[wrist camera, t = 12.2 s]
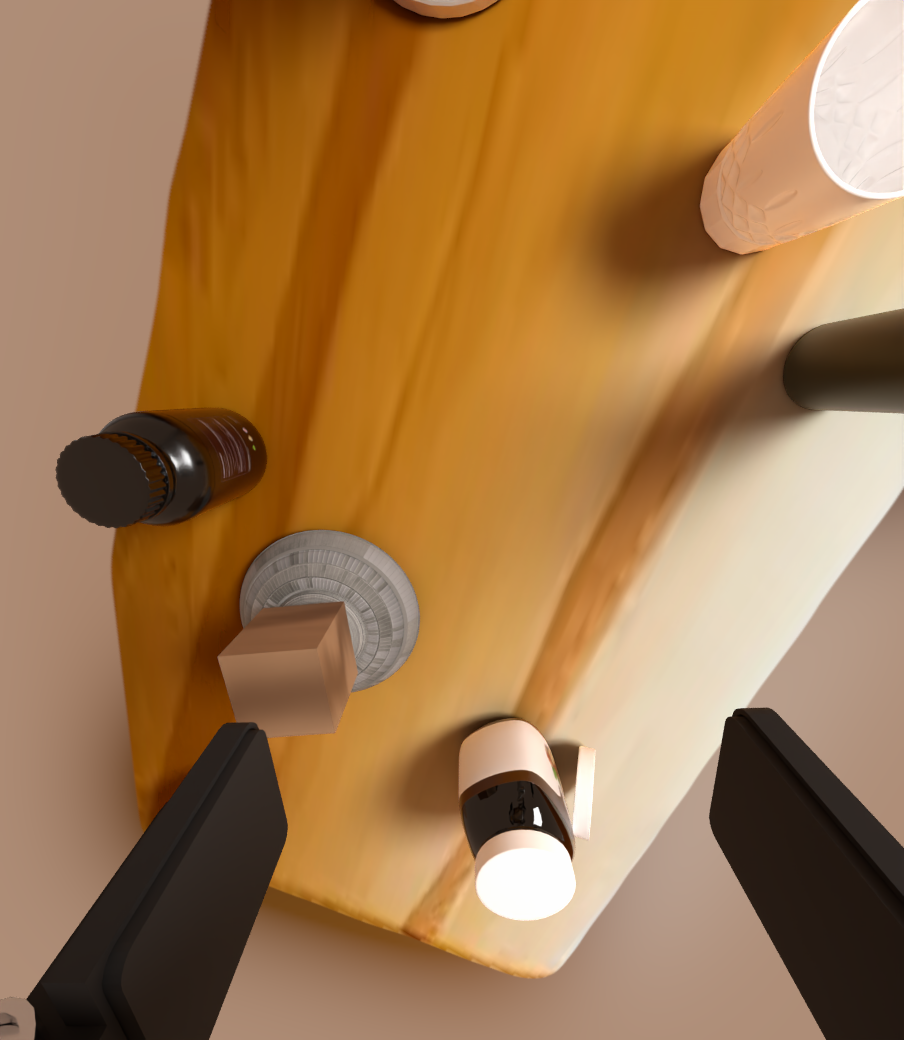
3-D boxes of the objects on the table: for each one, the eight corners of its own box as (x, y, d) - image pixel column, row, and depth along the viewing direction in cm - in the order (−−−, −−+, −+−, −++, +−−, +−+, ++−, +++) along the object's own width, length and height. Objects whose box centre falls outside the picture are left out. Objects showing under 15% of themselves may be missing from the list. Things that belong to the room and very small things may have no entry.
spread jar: (447, 724, 40) (441, 854, 28) (561, 679, 38) (601, 798, 27) (502, 814, 42) (516, 964, 31) (610, 775, 41) (665, 920, 29)
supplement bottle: (213, 508, 34) (85, 566, 23) (165, 429, 33) (1, 447, 21) (287, 475, 33) (193, 518, 22) (242, 391, 32) (114, 389, 20)
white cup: (826, 232, 28) (1018, 146, 18) (705, 285, 29) (826, 231, 19) (804, 95, 26) (1006, -83, 16) (675, 157, 27) (793, 25, 17)
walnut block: (262, 608, 31) (217, 656, 25) (344, 601, 31) (316, 648, 25) (280, 679, 33) (241, 739, 27) (357, 673, 32) (335, 733, 26)
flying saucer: (314, 706, 40) (292, 754, 35) (212, 577, 36) (170, 608, 31) (453, 636, 37) (451, 676, 32) (358, 491, 34) (338, 509, 29)
